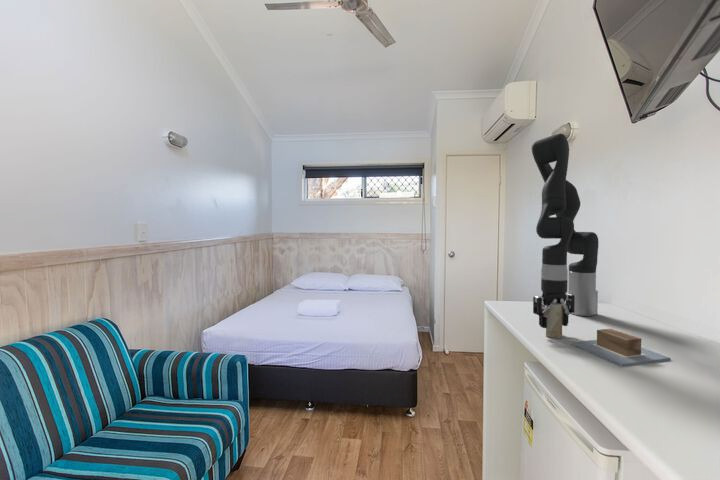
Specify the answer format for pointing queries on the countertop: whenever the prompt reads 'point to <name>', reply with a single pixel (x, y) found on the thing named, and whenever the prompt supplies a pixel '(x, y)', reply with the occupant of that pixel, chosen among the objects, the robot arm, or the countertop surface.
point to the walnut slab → (619, 342)
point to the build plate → (618, 358)
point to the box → (554, 321)
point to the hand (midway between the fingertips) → (553, 326)
